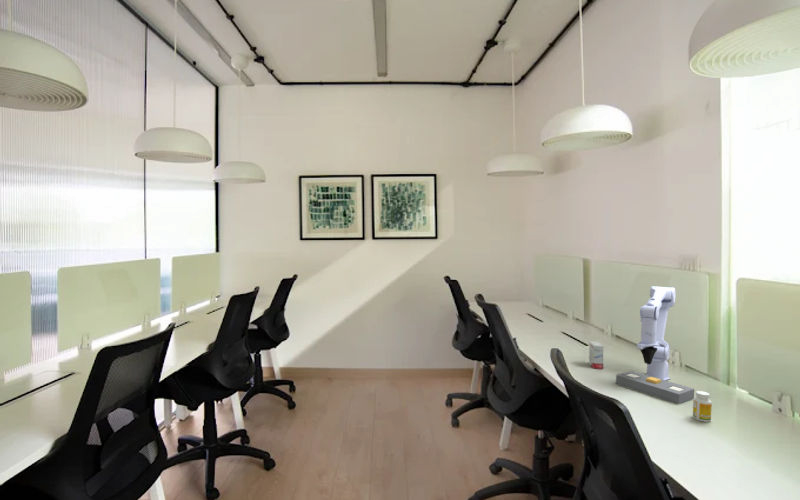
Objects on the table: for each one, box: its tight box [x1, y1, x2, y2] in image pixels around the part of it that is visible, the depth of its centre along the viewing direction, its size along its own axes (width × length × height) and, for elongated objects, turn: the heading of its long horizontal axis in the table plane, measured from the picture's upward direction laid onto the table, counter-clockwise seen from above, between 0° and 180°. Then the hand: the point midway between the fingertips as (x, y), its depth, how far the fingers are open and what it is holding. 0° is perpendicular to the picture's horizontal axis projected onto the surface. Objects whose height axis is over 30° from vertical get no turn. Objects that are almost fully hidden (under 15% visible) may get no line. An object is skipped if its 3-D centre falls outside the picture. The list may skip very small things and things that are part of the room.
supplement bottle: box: [692, 390, 713, 423], centre depth 149 cm, size 5×5×10 cm
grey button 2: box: [670, 386, 684, 391], centre depth 169 cm, size 4×4×4 cm
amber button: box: [646, 377, 661, 384], centre depth 176 cm, size 4×4×4 cm
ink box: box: [588, 341, 604, 370], centre depth 209 cm, size 9×5×12 cm, turn 168°
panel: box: [615, 370, 695, 405], centre depth 176 cm, size 12×26×4 cm, turn 30°
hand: (647, 363), depth 181 cm, fingers closed
